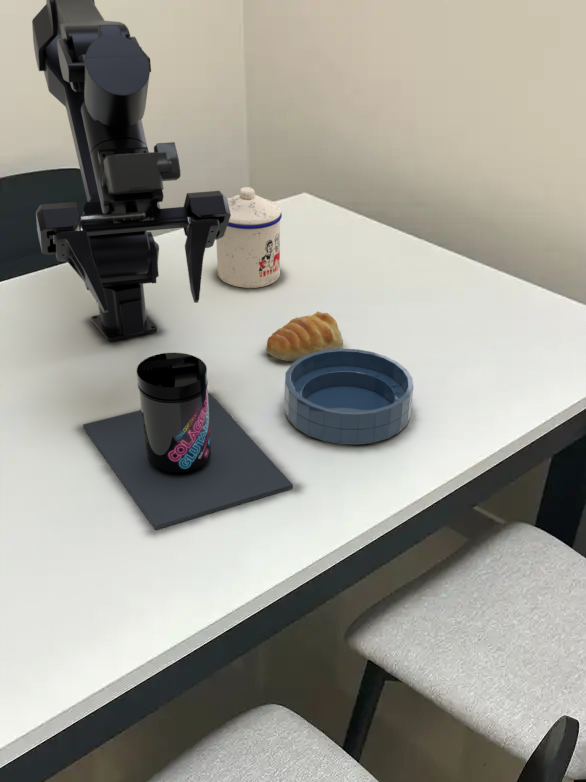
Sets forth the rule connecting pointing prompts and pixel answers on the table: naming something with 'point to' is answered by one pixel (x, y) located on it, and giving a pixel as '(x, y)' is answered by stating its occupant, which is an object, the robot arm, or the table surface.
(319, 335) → the pastry
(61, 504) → the table surface
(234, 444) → the placemat
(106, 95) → the robot arm
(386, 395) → the bowl
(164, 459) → the supplement container
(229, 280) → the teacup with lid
